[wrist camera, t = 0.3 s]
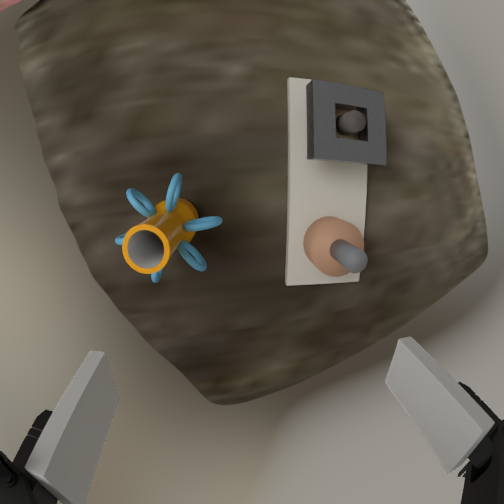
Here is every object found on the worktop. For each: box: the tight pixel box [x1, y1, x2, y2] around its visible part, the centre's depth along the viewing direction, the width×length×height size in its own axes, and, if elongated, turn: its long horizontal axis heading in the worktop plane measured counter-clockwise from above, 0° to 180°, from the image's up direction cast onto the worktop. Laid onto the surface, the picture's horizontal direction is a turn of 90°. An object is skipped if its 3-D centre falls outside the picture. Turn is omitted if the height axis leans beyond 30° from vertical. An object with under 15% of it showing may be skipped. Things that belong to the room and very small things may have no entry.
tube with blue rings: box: [115, 173, 223, 283], centre depth 28 cm, size 12×10×15 cm
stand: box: [335, 109, 366, 140], centre depth 29 cm, size 6×6×8 cm
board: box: [285, 77, 367, 286], centre depth 35 cm, size 28×11×1 cm, turn 0°
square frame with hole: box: [306, 79, 386, 166], centre depth 28 cm, size 9×9×2 cm
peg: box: [303, 216, 368, 277], centre depth 32 cm, size 7×7×9 cm
